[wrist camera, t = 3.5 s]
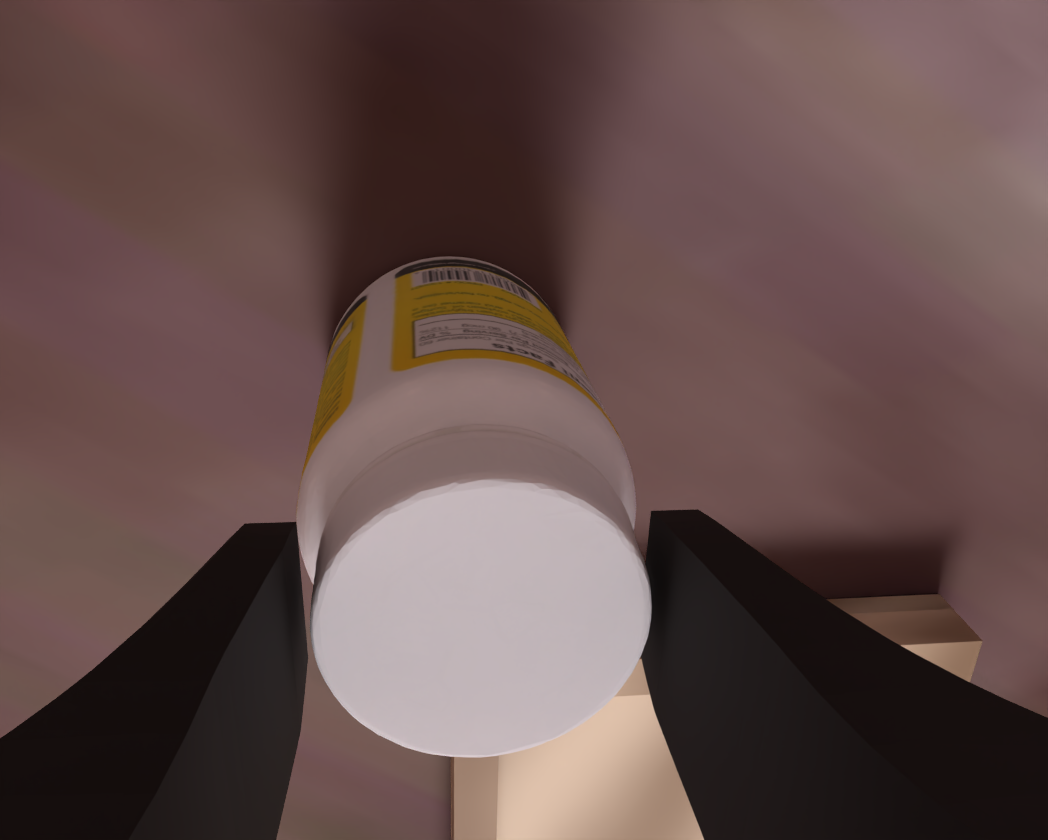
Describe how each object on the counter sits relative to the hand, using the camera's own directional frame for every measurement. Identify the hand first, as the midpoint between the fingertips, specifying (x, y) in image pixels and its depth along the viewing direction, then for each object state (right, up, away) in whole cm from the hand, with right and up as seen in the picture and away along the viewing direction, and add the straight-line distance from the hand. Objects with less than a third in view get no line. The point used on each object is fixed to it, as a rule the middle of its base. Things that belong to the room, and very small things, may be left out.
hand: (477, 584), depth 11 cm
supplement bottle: (-1, +3, +7) cm, 8 cm away
